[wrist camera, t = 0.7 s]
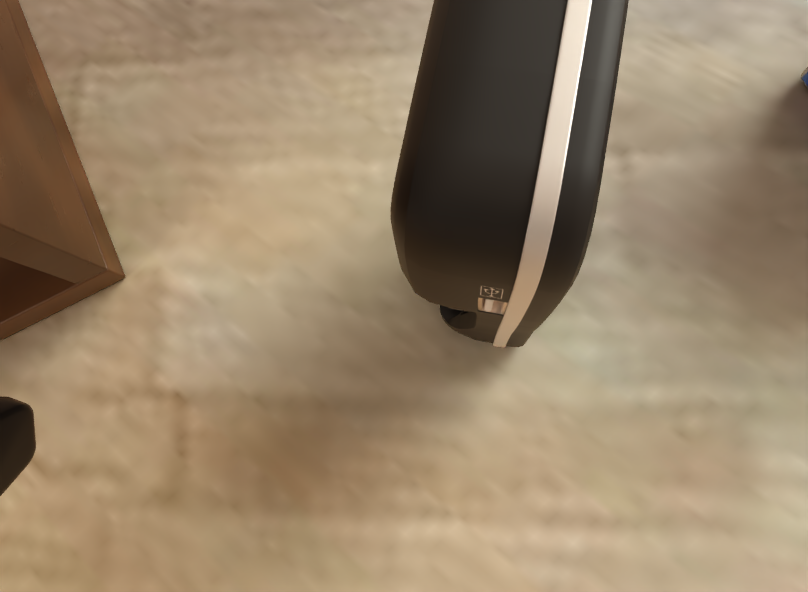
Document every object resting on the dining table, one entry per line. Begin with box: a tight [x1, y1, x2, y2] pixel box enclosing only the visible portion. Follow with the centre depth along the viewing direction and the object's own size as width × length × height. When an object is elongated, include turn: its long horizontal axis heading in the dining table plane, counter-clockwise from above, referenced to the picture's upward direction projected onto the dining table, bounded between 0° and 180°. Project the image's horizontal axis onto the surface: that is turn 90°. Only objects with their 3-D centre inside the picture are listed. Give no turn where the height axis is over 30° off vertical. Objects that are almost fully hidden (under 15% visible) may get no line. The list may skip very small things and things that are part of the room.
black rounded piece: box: [391, 0, 628, 348], centre depth 16 cm, size 7×4×11 cm, turn 168°
